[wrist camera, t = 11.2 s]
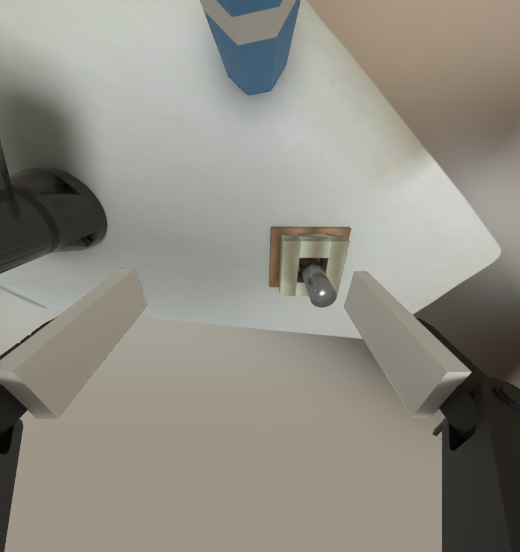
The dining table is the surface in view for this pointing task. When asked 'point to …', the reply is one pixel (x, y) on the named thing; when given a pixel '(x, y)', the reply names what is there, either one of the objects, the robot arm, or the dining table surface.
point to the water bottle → (252, 39)
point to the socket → (306, 255)
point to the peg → (317, 282)
